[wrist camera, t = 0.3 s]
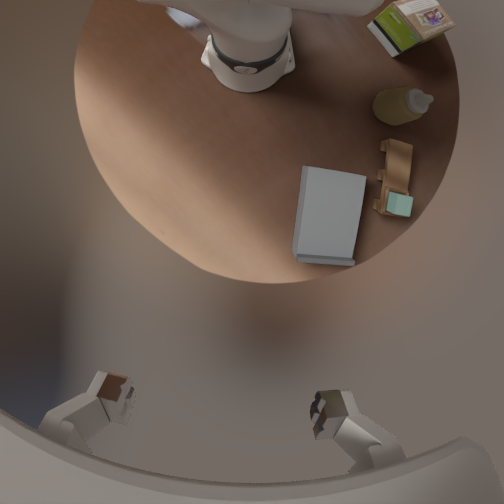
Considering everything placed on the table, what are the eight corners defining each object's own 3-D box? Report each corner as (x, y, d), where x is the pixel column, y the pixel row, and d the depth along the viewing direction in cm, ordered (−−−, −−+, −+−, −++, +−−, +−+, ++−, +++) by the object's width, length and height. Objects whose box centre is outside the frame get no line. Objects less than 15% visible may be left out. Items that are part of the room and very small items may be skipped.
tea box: (400, 12, 38) (430, -9, 24) (424, 42, 40) (458, 27, 27) (364, 26, 40) (393, 0, 27) (391, 59, 43) (426, 41, 29)
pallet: (380, 139, 50) (392, 138, 45) (402, 145, 51) (415, 145, 46) (371, 209, 55) (382, 214, 51) (393, 212, 56) (404, 218, 51)
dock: (302, 165, 52) (311, 166, 45) (356, 174, 53) (370, 177, 46) (291, 249, 58) (297, 261, 51) (343, 254, 59) (354, 266, 52)
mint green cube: (388, 191, 50) (397, 194, 46) (403, 194, 50) (413, 197, 46) (385, 209, 51) (394, 213, 47) (399, 212, 51) (409, 216, 48)
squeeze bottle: (402, 121, 49) (453, 116, 32) (376, 131, 50) (424, 126, 33) (389, 89, 46) (436, 73, 29) (361, 97, 47) (405, 79, 30)
